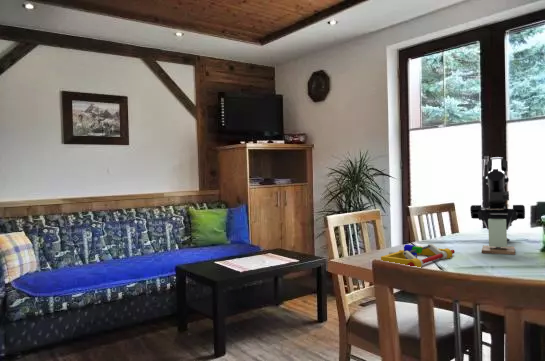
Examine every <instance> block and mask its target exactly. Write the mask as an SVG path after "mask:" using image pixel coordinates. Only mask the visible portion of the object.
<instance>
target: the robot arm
mask: <svg viewBox="0 0 545 361" xmlns="http://www.w3.org/2000/svg"><path fill="white" fill-rule="evenodd" d="M486 166H487V167H486V170H487V176H485V184H486V185H488V201H487V202H488V207H484V206H482V204H471V206H470V210H469V211H470V217H471V219H474V220H475V219H478V220H479V221H482V223H483V224H484V226H485V227H486V229H487V230H488V219H506V230H507V231H508V230H509V229H510V227H512V226H513V225H512V223H513V222H514V221H517V220H523V219H524V220H525V218H526V207H525V205H524V204H513V205H512V208H508V207H507V204H506V201H510V191H509V190H508V191H507V190H505V187H506V185H507V184H508V183H509V180H510V179H509V176H508V175H507V172H508V168H509V167H508V161H507V160H505V159H504V157H501V156H500V157H499V156H495V157H490V160H489V161H487V162H486ZM510 240H511V239H510V238H508V237H507V241H510Z"/></svg>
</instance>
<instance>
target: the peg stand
mask: <svg viewBox="0 0 545 361" xmlns="http://www.w3.org/2000/svg"><path fill="white" fill-rule="evenodd" d="M515 248H516V247H515V246H508V245H507V247H489V245H482V248H481V254H490V253H491V254H492V255H495V254H497V255H514V256H515V255H516V249H515Z"/></svg>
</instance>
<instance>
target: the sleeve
mask: <svg viewBox="0 0 545 361" xmlns="http://www.w3.org/2000/svg"><path fill="white" fill-rule="evenodd" d="M487 219H488V218H487ZM487 230H488V246H489V247H507V246H508V240H507V238H508V236H507V234H508V233H507V232H508V230H506V219H488V229H487Z"/></svg>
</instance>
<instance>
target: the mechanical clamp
mask: <svg viewBox="0 0 545 361" xmlns="http://www.w3.org/2000/svg"><path fill="white" fill-rule="evenodd" d="M454 254H455V249H450V248H448V247H447V248H438V247H437V246H435V245H434V244H433V243H429V244H427V245H426V246H420V245H418V246H417V245H414V244H407V243H406V244H405V245H403V249H399V250H398V251H396V252H395V251H389V252H388V254H385V255H382V256H380V261H381V260H383V261H389V262H395V263H400V264H405V265H410V266H417V267H421V268H422V267H423V265H425V264H427V263H430V262H433V261H437V260H439V259H440V260H444V259H450V257H451V258H452V257H453V255H454ZM419 255H423V256H428V257H425V258H423V259H421V258H418V256H419Z"/></svg>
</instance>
